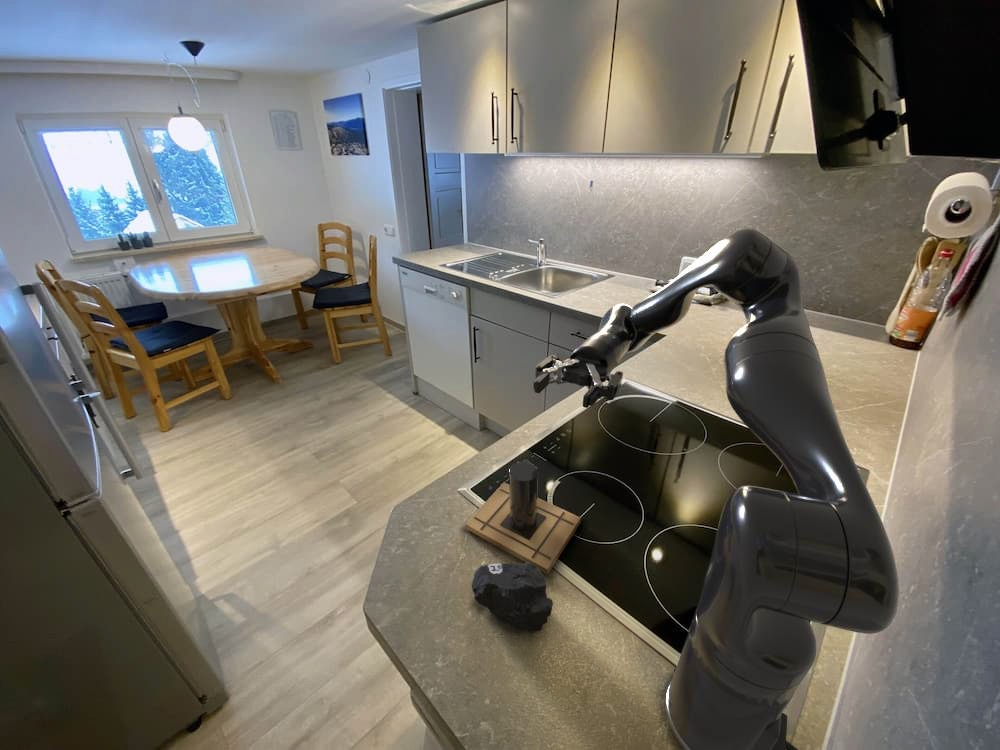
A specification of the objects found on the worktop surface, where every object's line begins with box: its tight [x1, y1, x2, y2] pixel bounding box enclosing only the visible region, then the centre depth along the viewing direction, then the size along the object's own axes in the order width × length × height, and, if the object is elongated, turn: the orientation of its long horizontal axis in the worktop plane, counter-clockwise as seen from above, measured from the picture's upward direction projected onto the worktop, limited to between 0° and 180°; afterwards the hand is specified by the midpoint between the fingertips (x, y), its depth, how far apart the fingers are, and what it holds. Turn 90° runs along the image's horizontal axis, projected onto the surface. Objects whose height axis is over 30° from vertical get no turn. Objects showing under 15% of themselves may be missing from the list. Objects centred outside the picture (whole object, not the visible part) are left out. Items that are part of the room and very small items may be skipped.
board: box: [464, 482, 582, 575], centre depth 71 cm, size 16×12×1 cm
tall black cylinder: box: [508, 461, 539, 530], centre depth 68 cm, size 5×5×11 cm
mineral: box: [471, 562, 554, 634], centre depth 58 cm, size 10×9×6 cm
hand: (560, 395), depth 66 cm, fingers open, 8 cm apart
